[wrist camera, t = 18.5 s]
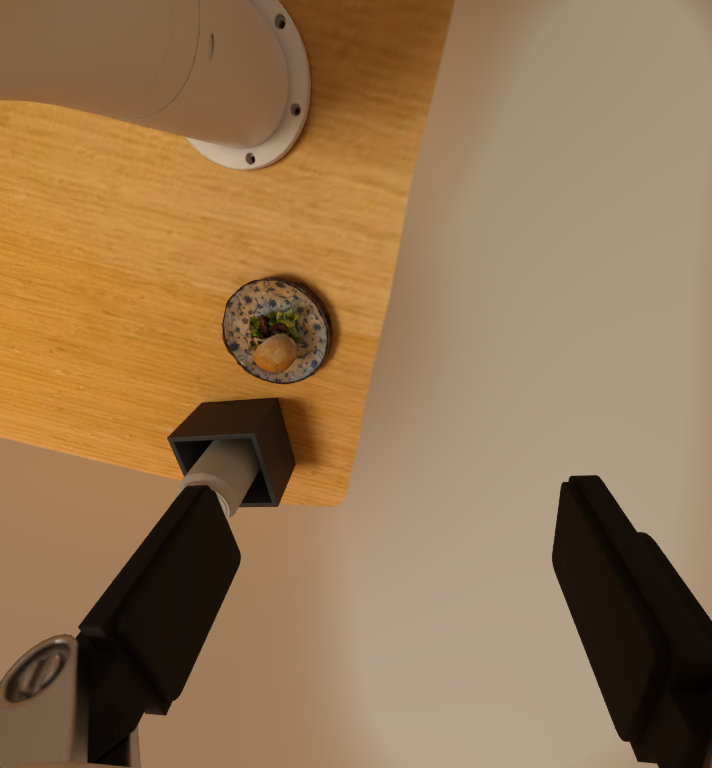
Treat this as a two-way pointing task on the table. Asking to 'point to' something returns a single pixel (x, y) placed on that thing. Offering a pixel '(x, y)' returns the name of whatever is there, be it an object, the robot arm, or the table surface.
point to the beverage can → (225, 471)
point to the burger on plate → (277, 330)
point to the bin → (239, 423)
